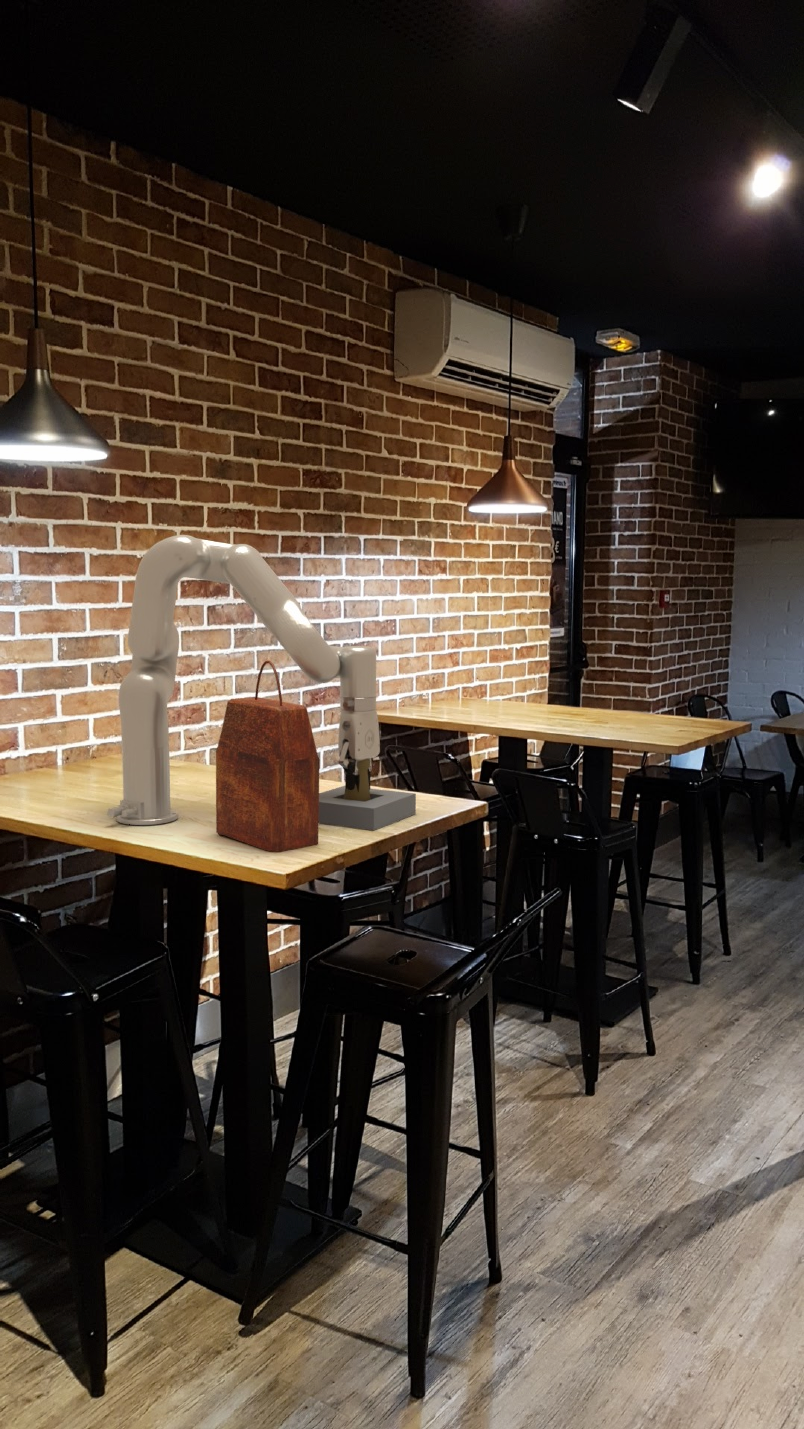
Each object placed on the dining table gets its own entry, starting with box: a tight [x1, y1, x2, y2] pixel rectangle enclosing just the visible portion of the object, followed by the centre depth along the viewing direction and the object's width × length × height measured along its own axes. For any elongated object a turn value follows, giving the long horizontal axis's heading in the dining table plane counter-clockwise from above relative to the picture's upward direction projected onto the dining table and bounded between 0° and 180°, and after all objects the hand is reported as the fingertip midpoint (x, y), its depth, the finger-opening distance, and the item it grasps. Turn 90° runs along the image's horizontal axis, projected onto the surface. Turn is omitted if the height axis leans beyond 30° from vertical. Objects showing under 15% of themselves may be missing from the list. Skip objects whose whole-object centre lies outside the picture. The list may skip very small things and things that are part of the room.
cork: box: [344, 756, 370, 802], centre depth 223 cm, size 6×6×11 cm
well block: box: [319, 785, 417, 831], centre depth 224 cm, size 18×18×4 cm
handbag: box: [215, 660, 321, 853], centre depth 201 cm, size 10×19×35 cm, turn 43°
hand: (357, 790), depth 223 cm, fingers closed on cork, 3 cm apart
